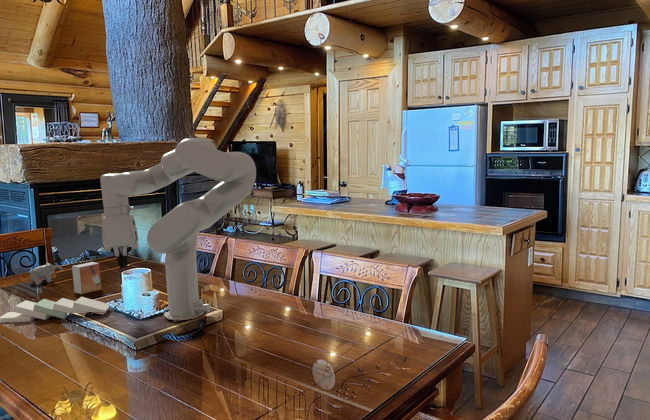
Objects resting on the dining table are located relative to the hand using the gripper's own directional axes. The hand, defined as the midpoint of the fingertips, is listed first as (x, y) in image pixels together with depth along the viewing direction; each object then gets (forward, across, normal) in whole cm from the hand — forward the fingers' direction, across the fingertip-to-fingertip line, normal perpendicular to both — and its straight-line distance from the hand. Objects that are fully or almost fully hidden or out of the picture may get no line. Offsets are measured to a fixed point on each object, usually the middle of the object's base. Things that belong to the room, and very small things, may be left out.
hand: (123, 267), depth 160 cm
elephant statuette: (+13, +46, -48) cm, 68 cm away
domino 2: (+13, +25, -1) cm, 28 cm away
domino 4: (+14, +13, 0) cm, 19 cm away
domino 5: (+14, +7, 0) cm, 16 cm away
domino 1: (+14, +30, -1) cm, 33 cm away
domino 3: (+14, +19, 0) cm, 23 cm away
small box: (+14, +23, -29) cm, 40 cm away
